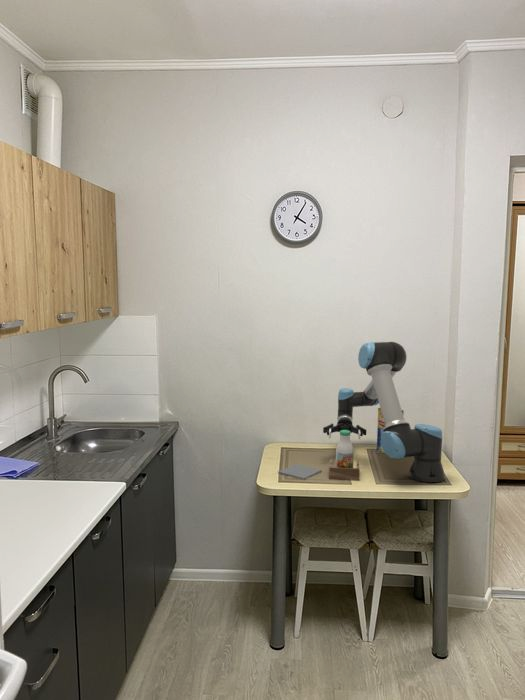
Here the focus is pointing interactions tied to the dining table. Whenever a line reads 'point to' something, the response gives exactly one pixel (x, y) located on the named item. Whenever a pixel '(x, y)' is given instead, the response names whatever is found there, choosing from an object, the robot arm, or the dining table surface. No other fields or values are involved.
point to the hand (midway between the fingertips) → (344, 435)
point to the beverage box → (380, 429)
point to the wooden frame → (343, 472)
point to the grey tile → (299, 471)
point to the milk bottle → (344, 451)
